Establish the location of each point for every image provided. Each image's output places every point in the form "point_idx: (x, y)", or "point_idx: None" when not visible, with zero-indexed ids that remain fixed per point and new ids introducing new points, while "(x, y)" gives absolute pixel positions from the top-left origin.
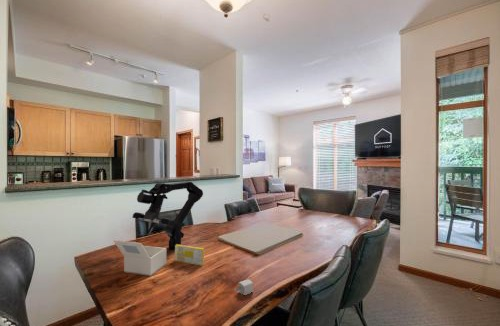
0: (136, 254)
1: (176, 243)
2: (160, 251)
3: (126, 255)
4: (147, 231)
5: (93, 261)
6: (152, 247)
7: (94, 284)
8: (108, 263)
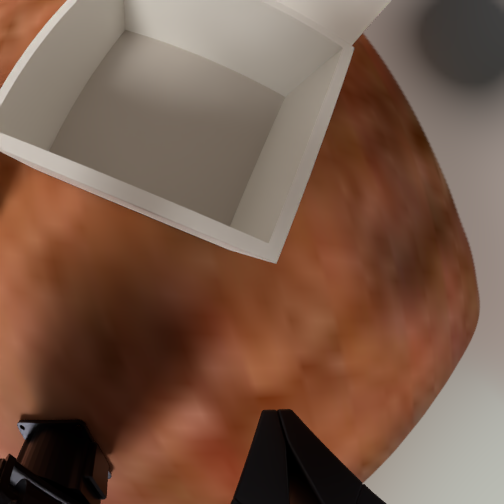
0: None
1: (34, 448)
2: (30, 51)
3: (331, 21)
4: (301, 448)
5: (449, 272)
6: (122, 181)
7: (364, 39)
8: (402, 239)
